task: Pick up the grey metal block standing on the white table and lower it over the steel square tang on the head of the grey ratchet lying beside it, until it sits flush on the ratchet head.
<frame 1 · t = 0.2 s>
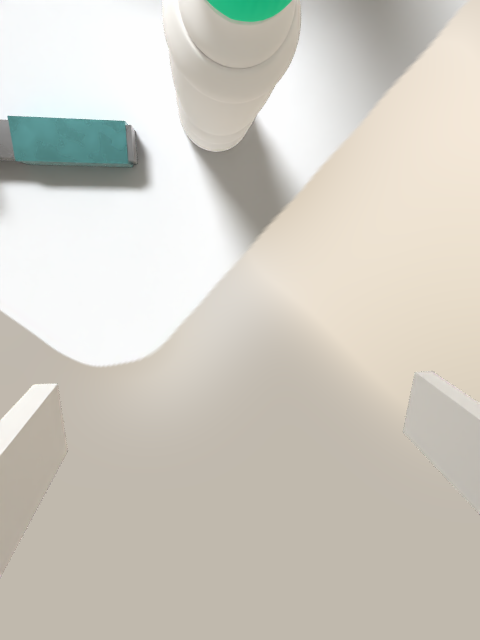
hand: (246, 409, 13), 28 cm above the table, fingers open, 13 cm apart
water bottle: (214, 114, 34), on the table
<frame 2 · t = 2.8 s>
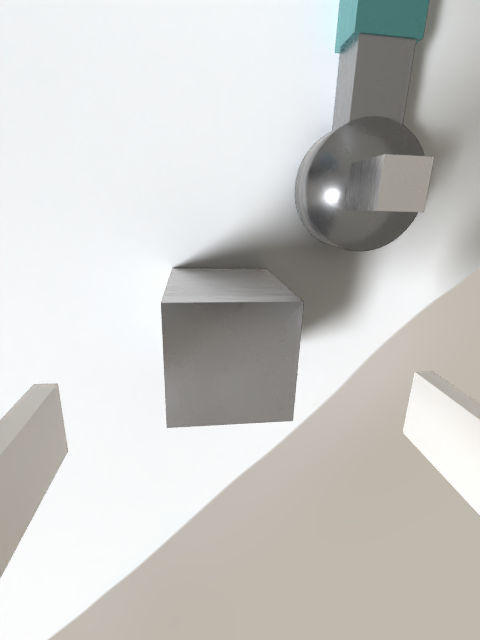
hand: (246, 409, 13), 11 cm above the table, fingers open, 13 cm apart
grey metal block: (219, 313, 23), on the table
ratchet: (348, 189, 21), on the table
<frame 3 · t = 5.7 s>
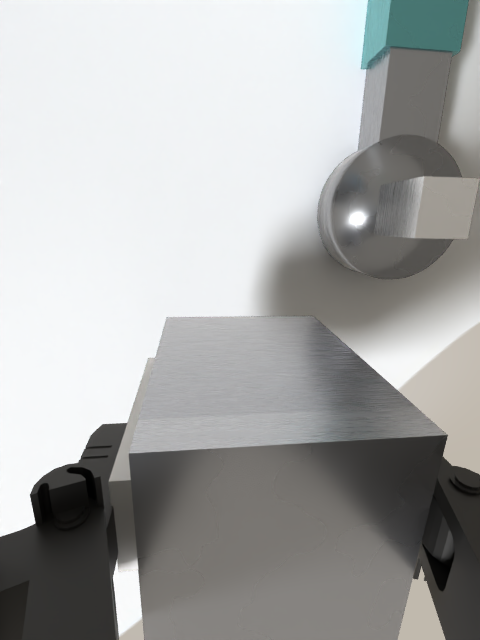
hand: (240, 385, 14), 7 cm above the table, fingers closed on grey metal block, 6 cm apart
grey metal block: (239, 383, 15), point 6 cm above the table, touching gripper
ratchet: (375, 212, 20), on the table
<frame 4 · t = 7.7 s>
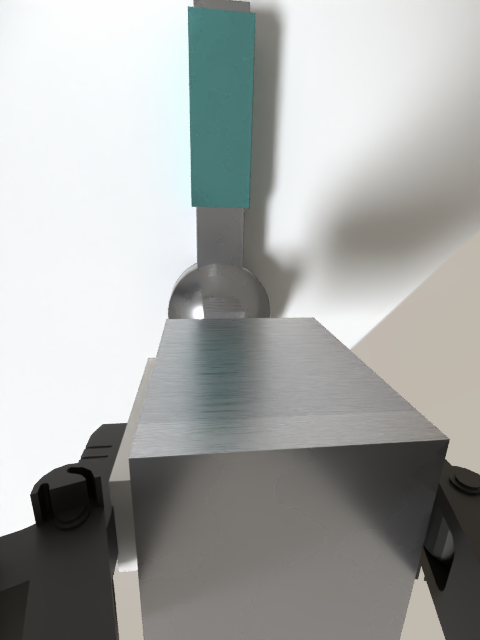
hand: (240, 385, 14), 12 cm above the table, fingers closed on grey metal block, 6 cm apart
grey metal block: (240, 384, 15), point 12 cm above the table, touching gripper
ratchet: (217, 304, 26), on the table
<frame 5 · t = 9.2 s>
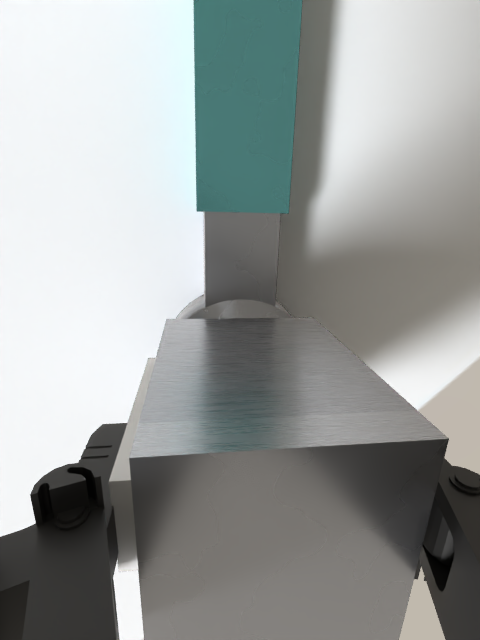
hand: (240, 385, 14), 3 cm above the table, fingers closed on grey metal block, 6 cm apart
grey metal block: (239, 384, 15), point 3 cm above the table, touching gripper
ratchet: (233, 353, 18), on the table
when the fingers open (3 cm above the table, at t = 9.8 s): grey metal block moves 3 cm, resting on ratchet.
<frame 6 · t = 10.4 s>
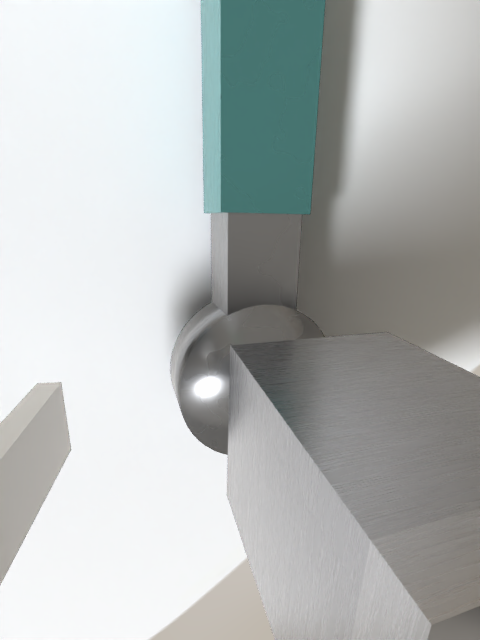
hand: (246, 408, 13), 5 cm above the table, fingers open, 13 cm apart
grey metal block: (306, 413, 13), point 5 cm above the table, tilted 10°, touching gripper, ratchet
ratchet: (241, 362, 17), point 1 cm above the table, tilted 13°, touching grey metal block
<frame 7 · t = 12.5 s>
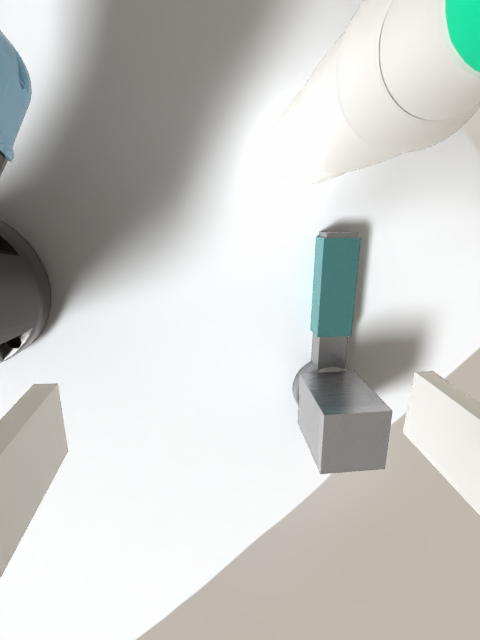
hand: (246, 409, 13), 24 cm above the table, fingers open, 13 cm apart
grey metal block: (325, 397, 37), point 2 cm above the table, touching ratchet
ratchet: (321, 385, 40), on the table, touching grey metal block
water bottle: (306, 145, 32), on the table
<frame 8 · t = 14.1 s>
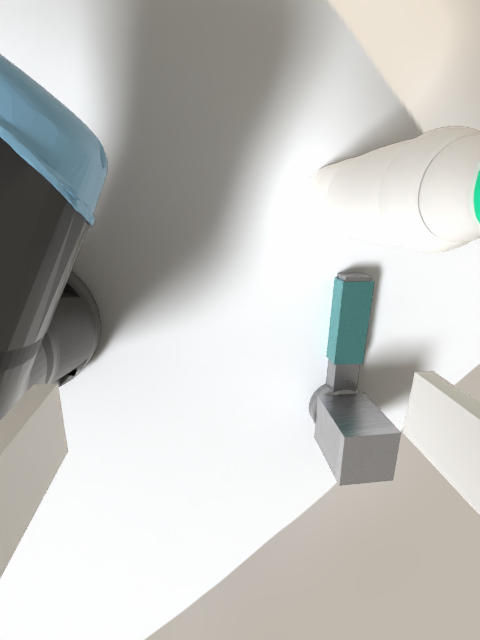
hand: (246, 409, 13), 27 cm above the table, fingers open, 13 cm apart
grey metal block: (339, 415, 43), point 2 cm above the table, touching ratchet
ratchet: (334, 404, 45), on the table, touching grey metal block
water bottle: (330, 200, 37), on the table
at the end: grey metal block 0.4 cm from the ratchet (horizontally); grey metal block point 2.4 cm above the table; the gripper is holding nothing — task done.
